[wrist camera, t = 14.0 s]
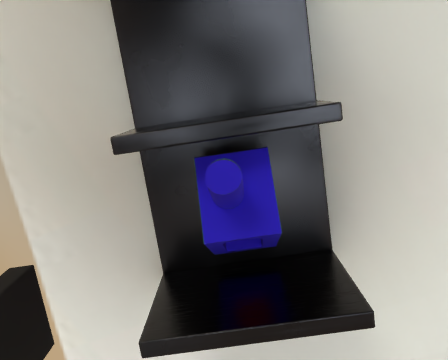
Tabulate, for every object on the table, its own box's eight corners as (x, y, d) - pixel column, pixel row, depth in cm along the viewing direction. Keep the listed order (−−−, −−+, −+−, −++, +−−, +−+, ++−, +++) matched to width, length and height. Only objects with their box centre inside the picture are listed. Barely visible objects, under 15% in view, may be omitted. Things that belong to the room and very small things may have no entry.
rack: (106, -36, 22) (41, -106, 14) (295, -68, 21) (333, -157, 14) (167, 279, 25) (141, 359, 18) (330, 256, 25) (375, 328, 17)
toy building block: (265, 176, 25) (269, 123, 17) (276, 247, 24) (286, 223, 16) (206, 185, 25) (184, 135, 17) (214, 255, 24) (195, 236, 16)
